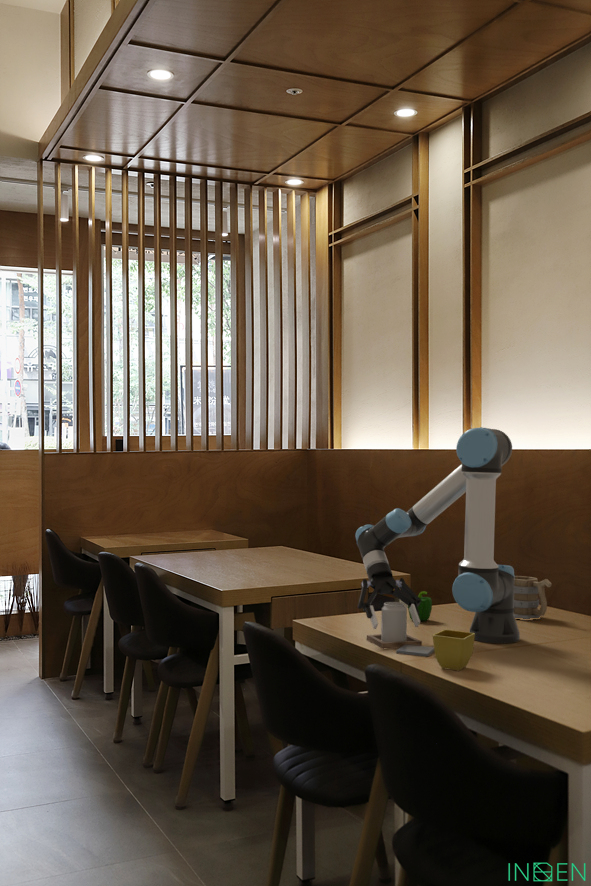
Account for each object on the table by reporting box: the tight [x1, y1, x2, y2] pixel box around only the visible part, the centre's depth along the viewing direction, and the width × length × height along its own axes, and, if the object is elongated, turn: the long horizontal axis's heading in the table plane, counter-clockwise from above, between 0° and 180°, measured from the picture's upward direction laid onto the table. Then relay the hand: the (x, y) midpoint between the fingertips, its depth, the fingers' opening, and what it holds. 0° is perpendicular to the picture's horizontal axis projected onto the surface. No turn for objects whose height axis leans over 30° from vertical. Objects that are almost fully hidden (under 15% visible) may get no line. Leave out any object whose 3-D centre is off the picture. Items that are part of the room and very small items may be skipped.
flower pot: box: [432, 629, 475, 672], centre depth 218 cm, size 9×9×9 cm
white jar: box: [380, 601, 408, 642], centre depth 247 cm, size 8×8×12 cm
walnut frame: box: [366, 633, 423, 650], centre depth 247 cm, size 12×12×2 cm
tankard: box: [514, 575, 553, 619], centre depth 290 cm, size 20×13×15 cm, turn 25°
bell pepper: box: [407, 591, 433, 622], centre depth 285 cm, size 8×8×10 cm
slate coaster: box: [395, 645, 435, 657], centre depth 236 cm, size 9×9×1 cm
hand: (397, 625), depth 245 cm, fingers open, 13 cm apart
